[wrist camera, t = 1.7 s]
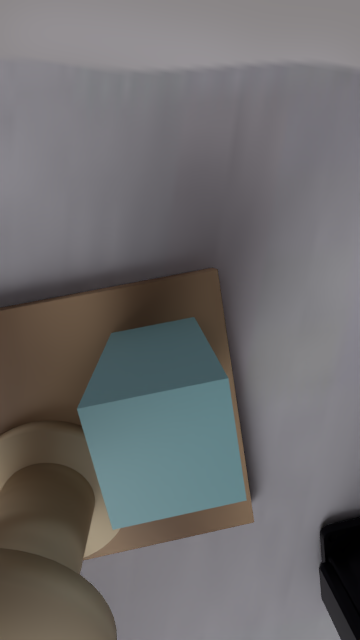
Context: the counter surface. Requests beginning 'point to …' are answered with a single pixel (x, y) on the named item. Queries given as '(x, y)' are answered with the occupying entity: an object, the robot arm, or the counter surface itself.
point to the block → (161, 425)
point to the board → (80, 362)
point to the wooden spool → (50, 535)
